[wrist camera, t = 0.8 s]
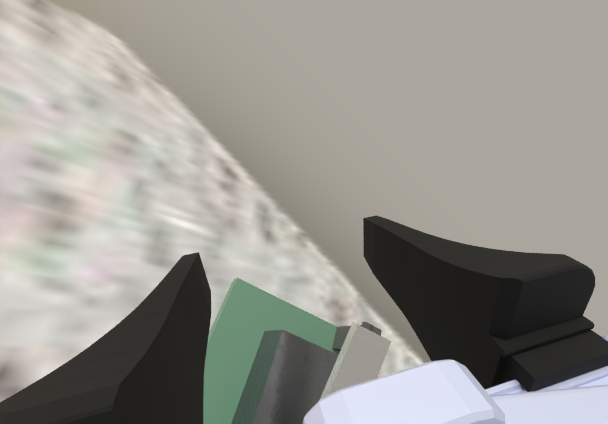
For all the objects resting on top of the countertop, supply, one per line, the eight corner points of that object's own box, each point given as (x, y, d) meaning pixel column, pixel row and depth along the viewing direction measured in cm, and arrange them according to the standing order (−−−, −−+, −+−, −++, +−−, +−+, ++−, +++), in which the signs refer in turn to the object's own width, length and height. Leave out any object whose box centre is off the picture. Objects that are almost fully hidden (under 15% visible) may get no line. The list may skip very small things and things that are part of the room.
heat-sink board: (335, 547, 22) (391, 601, 18) (129, 507, 17) (133, 566, 13) (368, 345, 30) (412, 346, 26) (233, 279, 26) (258, 266, 21)
